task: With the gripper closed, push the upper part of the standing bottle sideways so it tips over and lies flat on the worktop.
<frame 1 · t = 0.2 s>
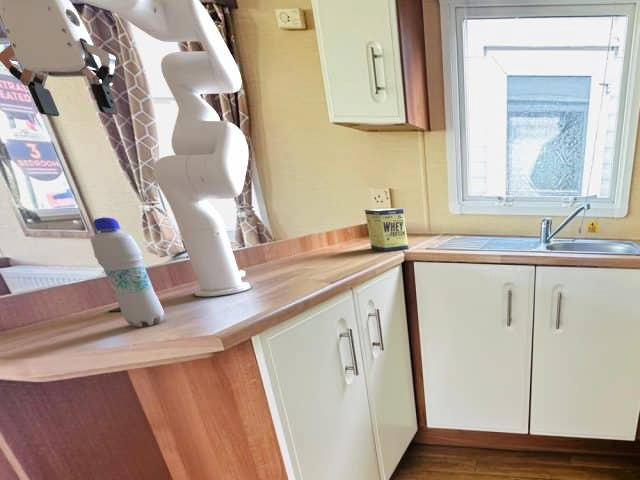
hand: (80, 114, 73), 37 cm above the countertop, tool pointing down, fingers open, 9 cm apart
protein box: (389, 249, 179), on the countertop
bottle marker: (128, 308, 97), on the countertop
bottle: (148, 324, 85), on the countertop
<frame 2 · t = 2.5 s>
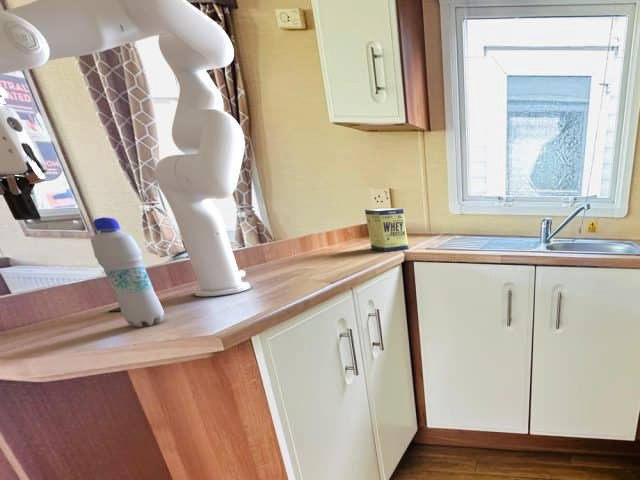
hand: (28, 219, 75), 20 cm above the countertop, tool pointing down, fingers closed
nothing on the countertop moved.
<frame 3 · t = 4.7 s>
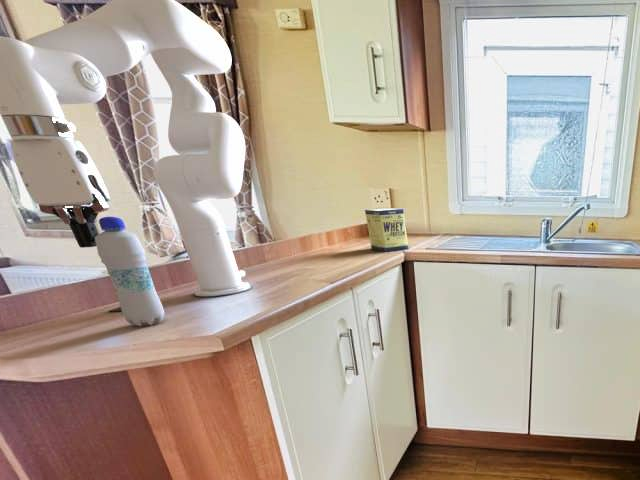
hand: (91, 246, 78), 15 cm above the countertop, tool pointing down, fingers closed
bottle: (148, 323, 85), on the countertop, touching gripper
everything else where it was.
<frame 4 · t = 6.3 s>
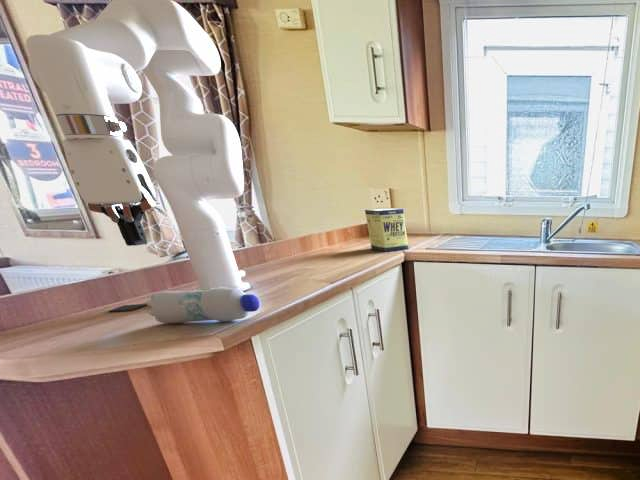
hand: (137, 244, 78), 15 cm above the countertop, tool pointing down, fingers closed
bottle: (156, 308, 83), point 3 cm above the countertop
everything else where it was.
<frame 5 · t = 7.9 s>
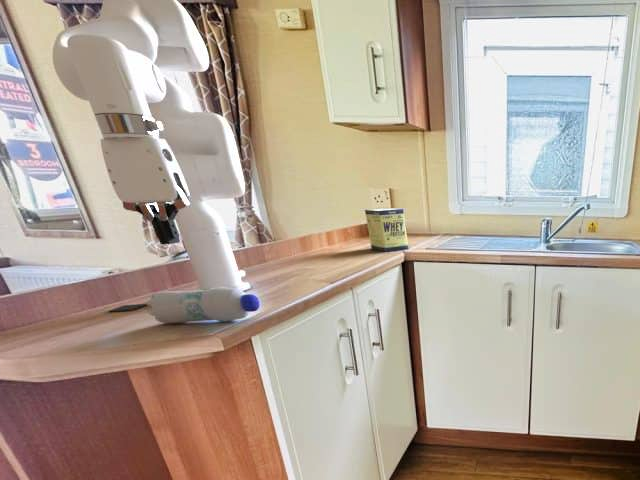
hand: (170, 243, 79), 15 cm above the countertop, tool pointing down, fingers closed
nothing on the countertop moved.
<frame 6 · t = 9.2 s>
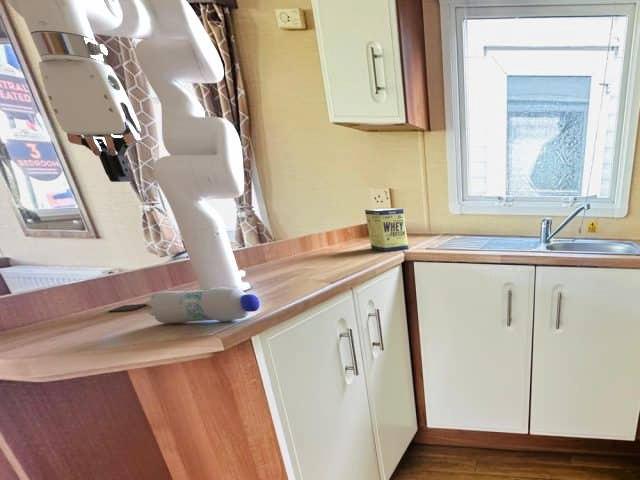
hand: (121, 181, 75), 26 cm above the countertop, tool pointing down, fingers closed
nothing on the countertop moved.
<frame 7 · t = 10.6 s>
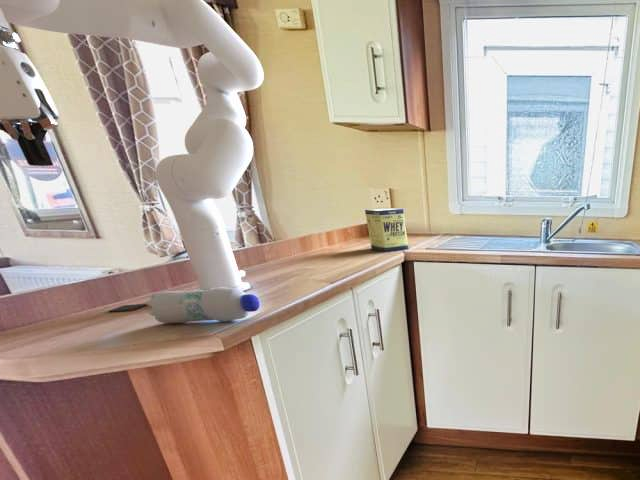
hand: (41, 165, 78), 29 cm above the countertop, tool pointing down, fingers closed
nothing on the countertop moved.
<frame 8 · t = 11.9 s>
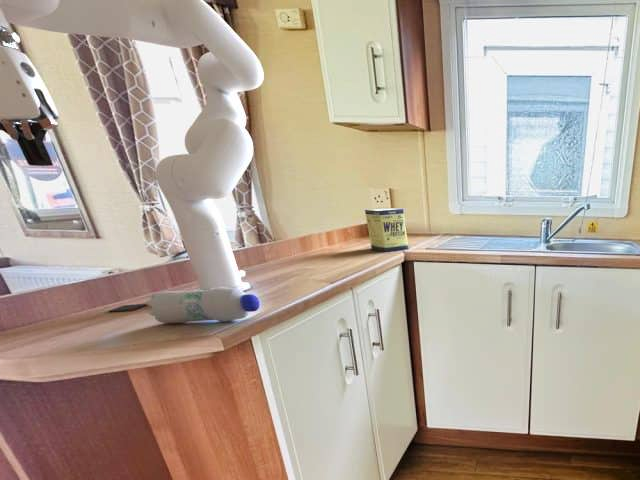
hand: (41, 165, 78), 29 cm above the countertop, tool pointing down, fingers closed
nothing on the countertop moved.
at the end: bottle tilted 89°; bottle inside the target area (0.2 cm from its centre), point 3.1 cm above the countertop; the gripper is holding nothing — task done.
